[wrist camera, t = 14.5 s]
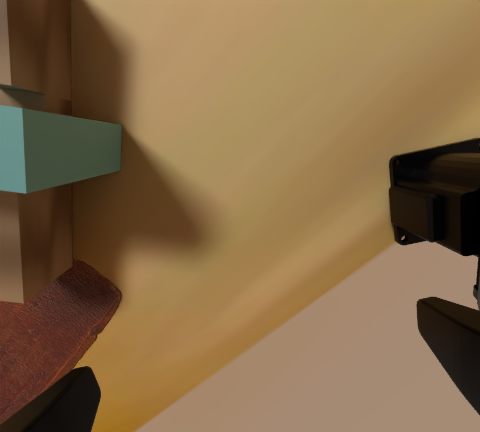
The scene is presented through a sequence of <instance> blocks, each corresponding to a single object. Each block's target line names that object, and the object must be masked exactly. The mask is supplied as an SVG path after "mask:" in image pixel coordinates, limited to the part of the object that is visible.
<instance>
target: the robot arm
mask: <svg viewBox="0 0 480 432" xmlns="http://www.w3.org/2000/svg"><path fill="white" fill-rule="evenodd" d="M479 143H480V138H474V139H469V140H465V141H460V142H455V143H451V144H446V145H442V146H437V147H432V148H428V149H423V150H418V151H414V152H409V153H404V154H400V155H395V156H393V157H392V158H391V159H390V161H389V169H390V182H391V187H390V189H389V199H390V212H391V222H392V223H394V235H395V241H396V242H397V243H399V244H401V245H408V244H413V243H418V242H423V241H429V242H436V243H438V244H440V245H442V246H444V247H447V248H448V249H451V250H452V251H454V252H457V253H459V254H461V255H463V256H470V255H475V256H477V257H478V269H477V282H476V285H474V289H473V295H474V297H475V298H476V299H477V304H478V308H479V310H475V309H472V308H469V307H466V306H463V305H459V304H456V303H453V302H450V301H447V300H443V299H440V298H437V297H428V298H423V299H419V300H418V301H417V320H418V329H419V332H420V333H421V336H422V337H423V339H424V340H425V341H426V343H427V344H428V346H429V347H430V349H431V350H432V352H433V353H434V354H435V356H436V357H437V359H438V360H439V362H440V363H441V365H442V366H443V368H444V369H445V370H446V372H447V373H448V375H449V376H450V378H451V379H452V381H453V382H454V383H455V385H456V386H457V387H458V389H459V390H460V391H461V393H462V394H463V395H464V397H465V398H466V399H467V400H468V402H469V403H470V404H471V405H472V407H473V408H474V409H475V410H476V411H477V413H478V414H479V415H480V147H479V148H478V144H479ZM397 160H400V164H399V165H398V166H397V165H396V162H397ZM404 235H405V238H404V239H403V240H401V238H402V237H403V236H404ZM100 398H101V391H100V387H99V385H98V382H97V380H96V378H95V375H94V373H93V371H92V369H91V368H90V367H88V366H85V367H80V368H75V369H73V370H71V371H70V372H68V373H67V374H66V375H64V376H63V377H62V378H61V379H59V380H58V381H57V382H55V383H54V384H53V385H51V386H50V387H49V388H47V389H46V390H45V391H43V392H42V393H41V394H40V395H38V396H37V397H36V398H34V399H33V400H32V401H30V402H29V403H28V404H26V405H25V406H24V407H22V408H21V409H20V410H19V411H17V412H16V413H15V414H13V415H12V416H11V417H9V418H8V419H7V420H5V421H4V422H3V423H1V424H0V432H91V430H92V426H93V423H94V419H95V416H96V412H97V409H98V405H99V402H100Z"/></svg>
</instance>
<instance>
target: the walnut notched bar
mask: <svg viewBox="0 0 480 432" xmlns="http://www.w3.org/2000/svg"><path fill="white" fill-rule="evenodd" d="M0 105H4V106H11V107H17V108H24V109H30V110H36V111H42V112H48V113H54V114H60V115H66V116H71V24H70V0H0ZM71 267H72V183H68V184H64V185H59V186H55V187H51V188H47V189H43V190H39V191H35V192H31V193H27V194H25V193H18V192H10V191H2V190H0V301H6V302H15V303H25V302H26V301H27V300H29V299H30V298H31V297H33V296H34V295H35V294H37V293H38V292H39V291H40V290H42V289H43V288H44V287H46V286H47V285H48V284H50V283H51V282H52V281H54V280H55V279H56V278H57V277H59V276H60V275H61V274H63V273H64V272H65V271H67V270H68V269H69V268H71Z"/></svg>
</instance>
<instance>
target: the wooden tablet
mask: <svg viewBox="0 0 480 432" xmlns="http://www.w3.org/2000/svg"><path fill="white" fill-rule="evenodd" d="M120 297H121V294H120V292H119V290H118V289H117V288H115V287H114V286H113V285H112V283H110V282H109V281H108V280H107V279H105V278H104V277H102V276H101V275H100V274H99V273H98V272H97V271H96V270H95V269H94V268H92V267H91V266H90V265H88V264H86V263H85V262H83V261H80V260H73V259H72V267H71V268H69V269H68V270H67V271H65V272H64V273H63V274H61V275H60V276H59V277H57V278H56V279H55V280H54V281H52V282H51V283H50V284H48V285H47V286H46V287H44V288H43V289H42V290H40V291H39V292H38V293H37V294H35V295H34V296H33V297H31V298H30V299H29V300H27V301H26V302H25V303H15V302H6V301H0V424H1V423H3V422H4V421H5V420H7V419H8V418H9V417H11V416H12V415H13V414H15V413H16V412H17V411H19V410H20V409H21V408H22V407H24V406H25V405H26V404H28V403H29V402H30V401H32V400H33V399H34V398H36V397H37V396H38V395H40V394H41V393H42V392H43V391H45V390H46V389H47V388H49V387H50V386H51V385H53V384H54V383H55V382H57V381H58V380H59V379H61V378H62V377H63V376H64V375H66V374H67V373H68V372H70V370H71V369H72V368H73V366H74V365H75V364H76V363H77V361H78V360H79V359H80V358H81V357H82V355H83V354H84V353H85V351H86V350H87V349H88V348H89V346H90V345H91V344H92V343H93V342H94V340H95V339H96V336H97V334H98V333H100V332H101V331H102V329H103V328H104V326H105V325H106V324H107V322H108V321H109V320H110V318H111V317H112V315H113V313H114V312H115V310H116V308H117V306H118V304H119V301H120Z"/></svg>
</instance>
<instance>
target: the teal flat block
mask: <svg viewBox="0 0 480 432" xmlns="http://www.w3.org/2000/svg"><path fill="white" fill-rule="evenodd" d="M121 142H122V125H120V124H114V123H108V122H102V121H96V120H90V119H84V118H78V117H72V116H66V115H60V114H54V113H48V112H42V111H36V110H30V109H24V108H17V107H11V106H4V105H0V190H2V191H10V192H18V193H25V194H27V193H31V192H35V191H39V190H43V189H47V188H51V187H55V186H59V185H64V184H68V183H72V182H76V181H80V180H84V179H88V178H92V177H96V176H100V175H104V174H109V173H113V172H117V171H121Z"/></svg>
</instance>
